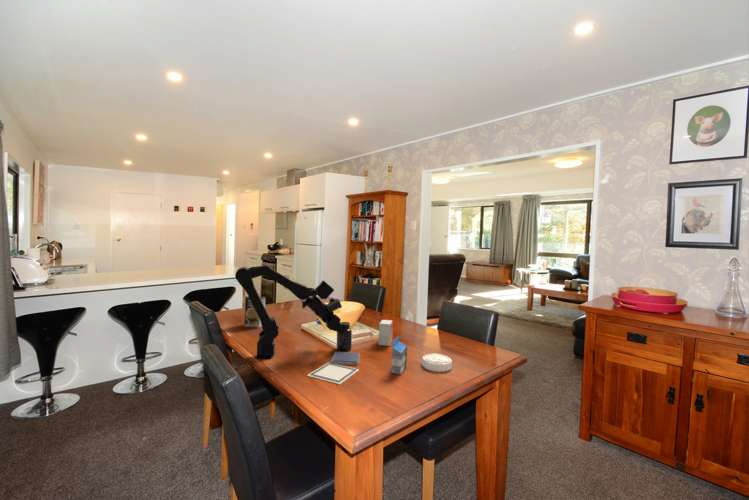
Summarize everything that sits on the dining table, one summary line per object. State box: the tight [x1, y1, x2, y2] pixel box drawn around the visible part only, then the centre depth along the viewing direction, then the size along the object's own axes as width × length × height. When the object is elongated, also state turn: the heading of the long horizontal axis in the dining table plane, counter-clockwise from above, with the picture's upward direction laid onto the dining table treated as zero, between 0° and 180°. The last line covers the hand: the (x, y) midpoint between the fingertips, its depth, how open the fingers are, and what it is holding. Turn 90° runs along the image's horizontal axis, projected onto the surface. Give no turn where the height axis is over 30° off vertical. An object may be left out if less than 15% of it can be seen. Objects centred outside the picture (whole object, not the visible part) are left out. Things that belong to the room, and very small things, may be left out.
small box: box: [378, 319, 394, 347], centre depth 159 cm, size 8×6×10 cm
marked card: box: [306, 362, 360, 385], centre depth 123 cm, size 14×14×1 cm
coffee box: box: [244, 296, 267, 329], centre depth 181 cm, size 9×6×16 cm
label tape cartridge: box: [390, 335, 408, 376], centre depth 127 cm, size 9×4×12 cm, turn 160°
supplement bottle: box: [336, 321, 353, 352], centre depth 149 cm, size 7×7×12 cm
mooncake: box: [421, 352, 453, 373], centre depth 133 cm, size 12×12×4 cm
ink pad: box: [330, 351, 361, 366], centre depth 136 cm, size 11×11×1 cm
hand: (341, 330), depth 148 cm, fingers open, 9 cm apart
